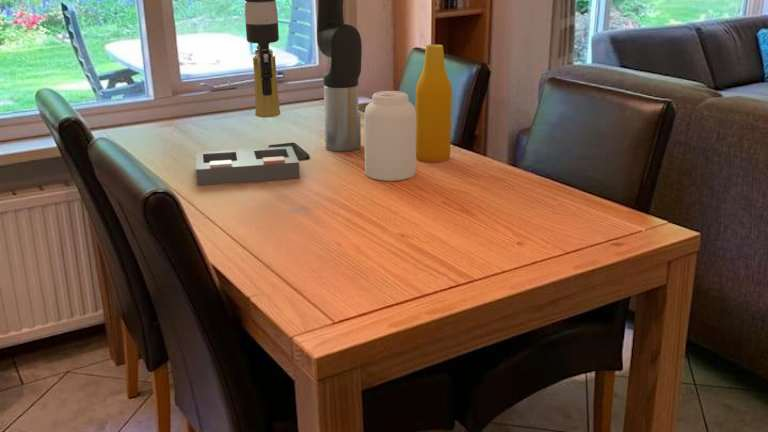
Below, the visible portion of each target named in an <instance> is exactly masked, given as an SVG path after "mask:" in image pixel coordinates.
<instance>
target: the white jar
mask: <svg viewBox="0 0 768 432" xmlns="http://www.w3.org/2000/svg"><path fill="white" fill-rule="evenodd" d="M363 117H364V118H363V120H364V121H363V122H364V123H363V125H364V126H363V128H364V131H363V132H364V173H365V175H366V176H367V177H368V178H371V179H373V180H378V181H385V182H390V181H391V182H392V181H393V182H394V181H395V182H396V181H403V180H406V179H407V180H408V179H411V178H412V177H414V176H415V175H416V171H417V164H416V163H417V158H416V105H414V104H413V103H412V102H411V101H409V95H408V94H407V93H406V92H404V91H400V90H399V91H398V90H382V91H378V92H375V93H373V94H372V96H371V101H370V102H369V103H368V104H367V105H366V106H365V110H364V114H363Z"/></svg>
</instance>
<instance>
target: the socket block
mask: <svg viewBox="0 0 768 432" xmlns="http://www.w3.org/2000/svg"><path fill="white" fill-rule="evenodd" d="M299 161H300V160H298V159H297V157H296V155H295V153H294V150H293V148H292V146H288V147H272V148H268V147H261V148H243V149H232V150H231V149H230V150H229V149H228V150H227V149H226V150H215V151H200V152H199V151H198V152H195V170H196V171H195V172H196V182H197V186H199V187H200V186H201V187H202V186H212V185H216V186H217V185H227V184H229V185H230V184H240V183H242V184H243V183H255V182H267V181H268V182H270V181H280V180H281V181H283V180H294V179H296V180H297V179H301V177H300V175H301V174H300V162H299Z"/></svg>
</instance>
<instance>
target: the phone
mask: <svg viewBox="0 0 768 432" xmlns="http://www.w3.org/2000/svg"><path fill="white" fill-rule="evenodd" d="M288 146H292V148H293V150H294V153H295V155H296V157H297V159H298V161H305V160H309V159H310V158H311V157H310V154H309V153H307V151H306V150H304V149H303V148H302V147H301V146H300V145H299V144H298V143H296V142H287V143H276V144H275V143H274V144H269V145H268V147H267V148H272V147H288Z"/></svg>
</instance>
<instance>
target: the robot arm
mask: <svg viewBox="0 0 768 432" xmlns="http://www.w3.org/2000/svg"><path fill="white" fill-rule="evenodd" d="M276 1H277V0H244V18H245V22H244V23H245V32H246V33H245V34H246V41H247V43H249V44H257V45H256V48H255V49H254V56H256V58H257V60H258V70H260V72H261V76H260V77H261V80H262V93H263V95H264V96H269V95H272V85H271V79H272V77H273V74H272V69H273V63H272V57H273V55H274V53H273V52H274V51H273V50H272V48H270V44H271V43H272V44H273V43H277V42H279V40H280V35H279V33H280V32H279V20H278V9H277V2H276ZM316 23H317V25H316V42H317V46H318V49H319V51H320V52H321V54H322V55H324V56H326V57H328V58H330V69H329V71H328V72H326V73H325V74H324V75H323V100H324V101H323V103H324V104H323V106H324V132H325V133H324V134H325V136H324V137H325V139H324V140H325V142H324V143H325V148H326V149H327V150H328V151H333V152H351V151H354V150H358V149H359V150H361V149H362V146H361V145H362V135H361V131H362V126H361V125H362V124H361V122H362V121H361V113H359V112H360V111H359V79H360V75H361V73H362V51H363V50H362V48H363V46H362V43H363V42H362V37H361V34H360V32H359V30H358V29H357V28H356V27H355V26H354V25H351V24H347V23H345V20H344V0H317V22H316ZM260 61H261V65H260ZM263 70H269V73H263Z"/></svg>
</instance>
